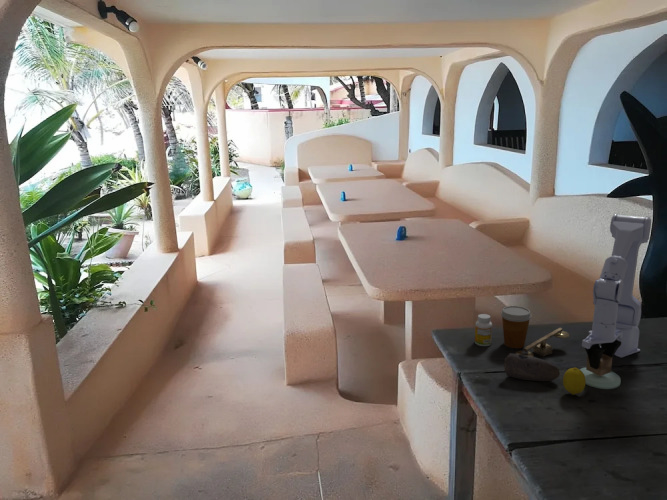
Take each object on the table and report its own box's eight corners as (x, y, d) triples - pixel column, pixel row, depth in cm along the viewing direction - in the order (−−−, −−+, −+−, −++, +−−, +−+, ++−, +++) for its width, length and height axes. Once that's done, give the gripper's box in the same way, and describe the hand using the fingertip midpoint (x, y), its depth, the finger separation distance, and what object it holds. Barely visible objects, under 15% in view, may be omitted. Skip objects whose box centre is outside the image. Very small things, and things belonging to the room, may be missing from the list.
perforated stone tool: (558, 378, 151) (560, 356, 149) (559, 387, 146) (561, 365, 144) (504, 371, 156) (505, 349, 154) (503, 379, 151) (504, 357, 150)
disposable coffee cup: (493, 344, 174) (495, 310, 170) (508, 335, 180) (510, 303, 177) (520, 353, 167) (522, 318, 164) (534, 344, 173) (537, 310, 170)
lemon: (578, 388, 145) (580, 362, 143) (588, 399, 139) (590, 372, 137) (558, 389, 145) (560, 363, 143) (567, 400, 139) (570, 373, 137)
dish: (594, 366, 157) (594, 363, 156) (629, 382, 147) (629, 378, 147) (568, 376, 152) (569, 372, 151) (603, 392, 142) (603, 389, 142)
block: (596, 365, 152) (598, 351, 151) (610, 372, 148) (612, 357, 147) (586, 369, 150) (587, 355, 149) (600, 376, 146) (601, 361, 145)
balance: (558, 342, 173) (560, 324, 172) (571, 348, 169) (573, 329, 167) (512, 357, 164) (513, 337, 163) (524, 363, 160) (526, 343, 158)
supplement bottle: (478, 338, 179) (479, 311, 176) (493, 342, 175) (495, 314, 173) (472, 344, 174) (473, 317, 172) (488, 348, 171) (489, 320, 169)
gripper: (608, 311, 151) (604, 354, 155) (574, 321, 145) (570, 365, 149) (631, 319, 145) (626, 363, 149) (596, 330, 139) (592, 376, 143)
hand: (599, 365), depth 148 cm, fingers closed on block, 4 cm apart
